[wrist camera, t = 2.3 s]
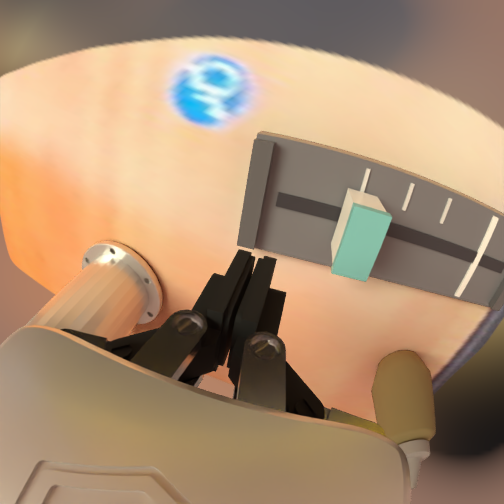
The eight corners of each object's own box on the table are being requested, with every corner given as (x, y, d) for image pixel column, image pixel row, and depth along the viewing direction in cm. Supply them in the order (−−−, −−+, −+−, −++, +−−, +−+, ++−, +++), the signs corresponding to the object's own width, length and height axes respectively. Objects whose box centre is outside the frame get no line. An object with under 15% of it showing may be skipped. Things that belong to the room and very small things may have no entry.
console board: (487, 298, 25) (497, 313, 22) (244, 234, 28) (236, 249, 25) (524, 225, 20) (538, 237, 17) (261, 130, 22) (255, 134, 20)
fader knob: (358, 251, 23) (365, 281, 19) (329, 244, 24) (331, 273, 20) (378, 195, 21) (392, 217, 17) (347, 186, 21) (354, 206, 17)
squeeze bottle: (398, 385, 34) (406, 497, 19) (357, 371, 34) (356, 497, 19) (436, 353, 30) (462, 474, 15) (397, 335, 30) (416, 476, 15)
